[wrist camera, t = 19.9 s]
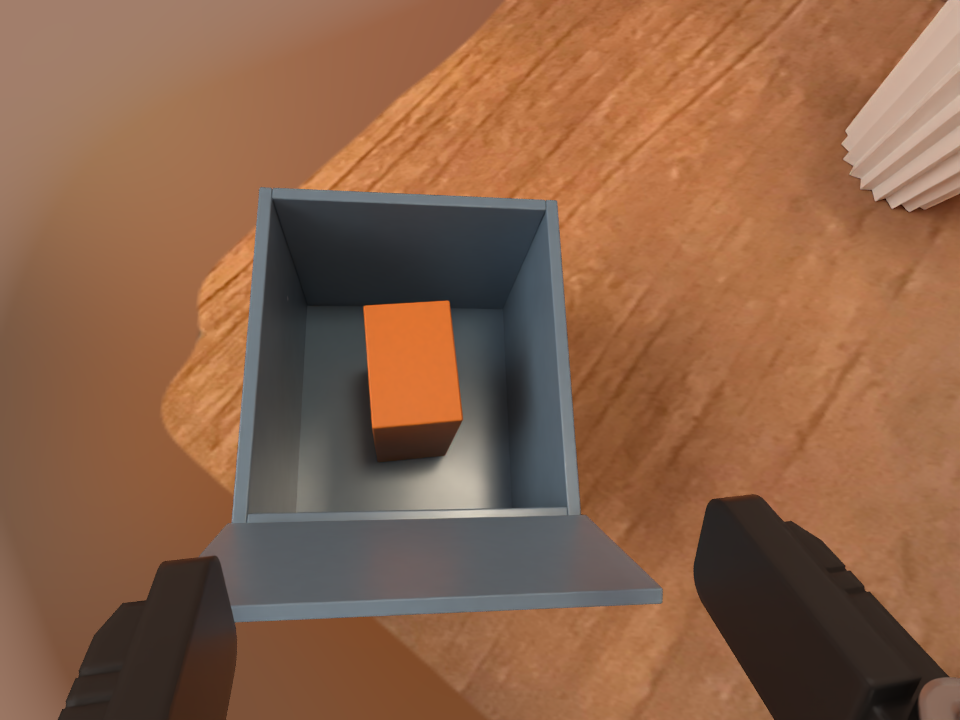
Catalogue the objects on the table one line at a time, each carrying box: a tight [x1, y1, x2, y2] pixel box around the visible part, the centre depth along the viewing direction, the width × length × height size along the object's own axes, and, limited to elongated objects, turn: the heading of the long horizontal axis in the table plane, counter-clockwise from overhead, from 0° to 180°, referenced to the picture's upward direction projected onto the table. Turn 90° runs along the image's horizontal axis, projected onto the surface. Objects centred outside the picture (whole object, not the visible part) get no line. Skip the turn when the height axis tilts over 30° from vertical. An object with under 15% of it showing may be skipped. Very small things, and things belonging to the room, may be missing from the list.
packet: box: [363, 300, 463, 462], centre depth 30 cm, size 5×4×9 cm
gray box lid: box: [199, 515, 663, 622], centre depth 18 cm, size 6×12×1 cm
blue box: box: [232, 187, 581, 523], centre depth 29 cm, size 13×12×12 cm
